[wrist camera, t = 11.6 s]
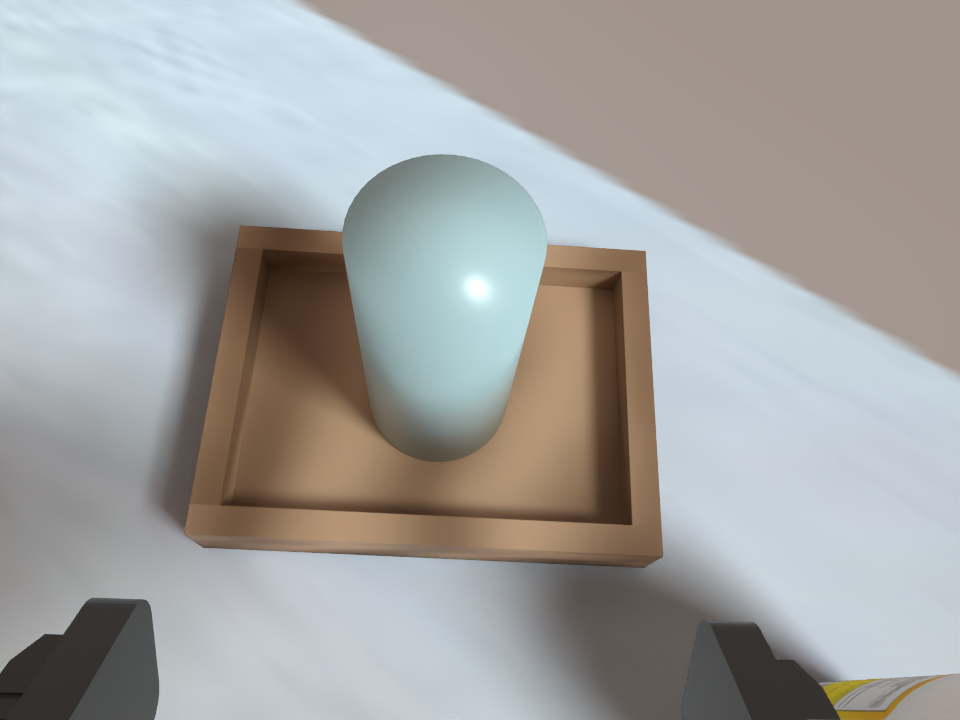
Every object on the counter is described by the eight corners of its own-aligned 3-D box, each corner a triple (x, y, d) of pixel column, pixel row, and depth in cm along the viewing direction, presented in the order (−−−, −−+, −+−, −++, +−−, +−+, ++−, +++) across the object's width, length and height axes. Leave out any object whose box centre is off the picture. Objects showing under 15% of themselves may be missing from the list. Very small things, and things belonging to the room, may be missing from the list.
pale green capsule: (363, 458, 29) (330, 321, 19) (376, 331, 31) (353, 147, 21) (505, 465, 29) (547, 334, 19) (508, 339, 31) (546, 161, 21)
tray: (203, 547, 28) (183, 533, 26) (253, 258, 33) (240, 225, 31) (644, 567, 29) (662, 556, 27) (630, 281, 34) (645, 251, 32)
